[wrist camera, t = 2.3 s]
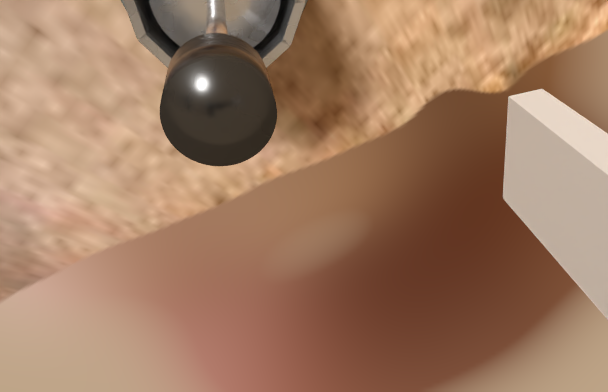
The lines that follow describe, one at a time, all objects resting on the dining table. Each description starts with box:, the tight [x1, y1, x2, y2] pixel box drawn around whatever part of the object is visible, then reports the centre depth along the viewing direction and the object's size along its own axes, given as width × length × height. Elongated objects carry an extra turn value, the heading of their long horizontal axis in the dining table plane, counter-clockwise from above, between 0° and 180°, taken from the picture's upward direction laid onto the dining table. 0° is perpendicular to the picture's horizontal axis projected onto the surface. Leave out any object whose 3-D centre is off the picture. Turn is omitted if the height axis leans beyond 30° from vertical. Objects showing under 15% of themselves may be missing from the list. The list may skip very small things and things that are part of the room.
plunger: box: [149, 0, 280, 166], centre depth 24 cm, size 8×8×19 cm
